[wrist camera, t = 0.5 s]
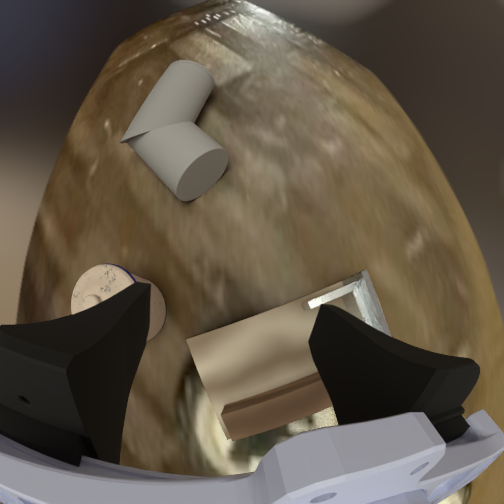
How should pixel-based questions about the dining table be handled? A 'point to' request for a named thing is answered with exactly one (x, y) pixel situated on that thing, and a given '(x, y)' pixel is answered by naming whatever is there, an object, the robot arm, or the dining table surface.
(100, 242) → the dining table surface
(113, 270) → the teacup with lid
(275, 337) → the base board
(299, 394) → the rail
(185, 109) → the elbow connector
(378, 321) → the bracket
